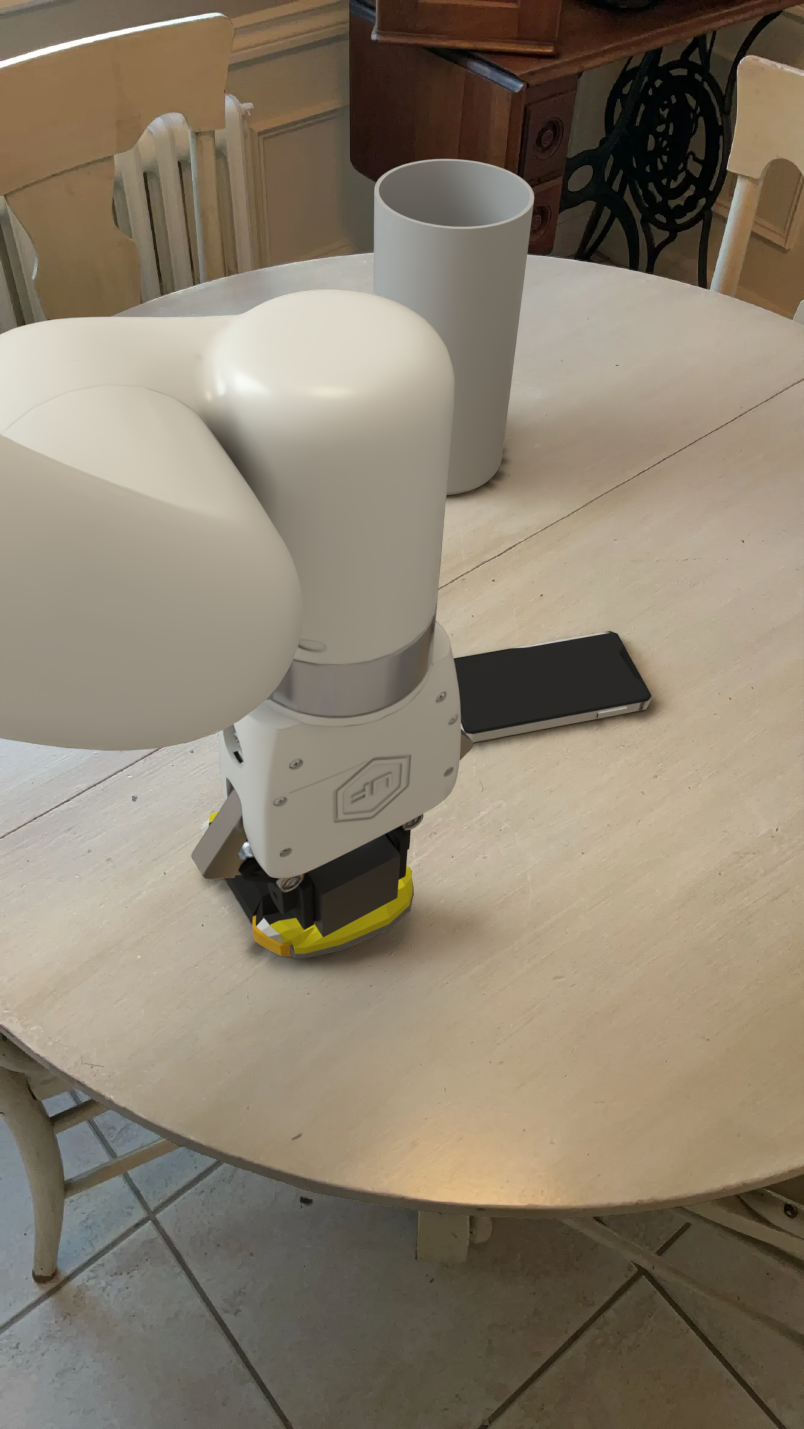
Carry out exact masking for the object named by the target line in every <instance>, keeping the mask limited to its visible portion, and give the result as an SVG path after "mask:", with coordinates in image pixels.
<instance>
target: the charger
mask: <svg viewBox="0 0 804 1429" xmlns="http://www.w3.org/2000/svg"><path fill="white" fill-rule="evenodd" d="M399 868H400V854H399V853H398V851H397V850H396V849H395V847H394V846H393V845H392V843H391V842H390V840H389V839H388V838H387V836H386V835H385V834H383V835H382V836H380V837H378V838H376V839H374V840H372V841H370V842H368V843H366V844H364V845H362V846H360V847H358V848H356V849H354V850H352V851H350V852H348V853H346V854H344V855H342V856H340V857H338V858H336V859H334V860H332V861H330V862H328V863H326V864H323V865H321V866H319V867H317V868H315V869H313V870H311V871H308V874H309V875H310V877H311V878H312V880H313V882H314V883H313V885H314V900H315V922H314V924H315V926H316V927H317V929H318V930H319V932H320V933H321V935H322V937H325V936H327V935H329V934H331V933H333V932H335V931H337V930H338V929H340V928H342V927H344V926H346V925H348V924H350V923H351V922H353V921H355V920H357V919H359V918H361V917H363V916H365V915H366V914H368V913H370V912H372V911H374V910H376V909H378V908H380V907H381V906H383V905H385V904H387V903H389V902H391V901H393V900H394V899H396V898H397V897H398V883H399Z"/></svg>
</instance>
